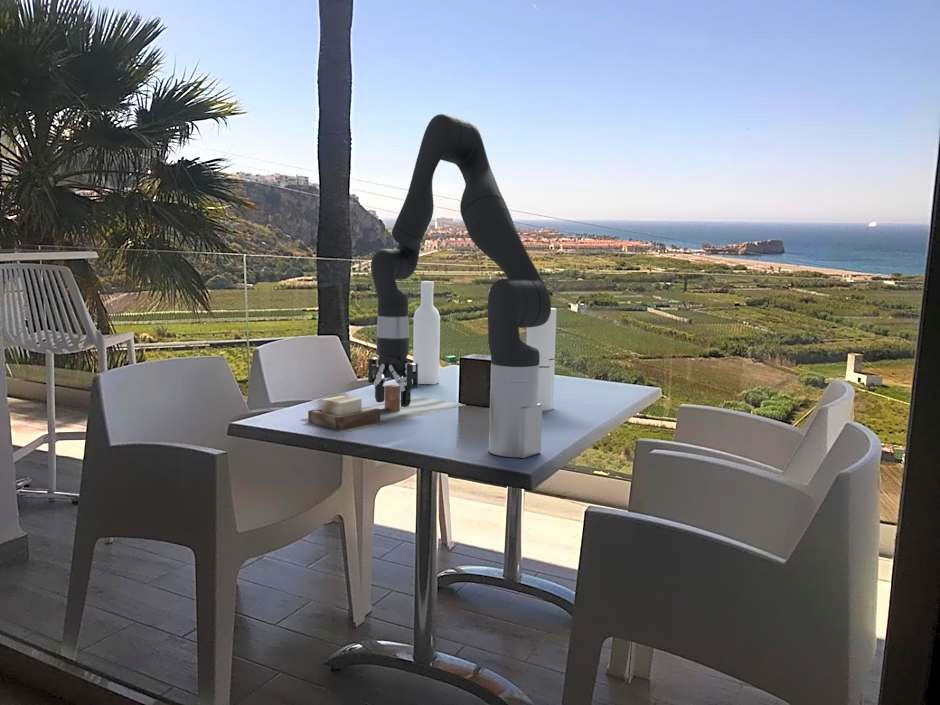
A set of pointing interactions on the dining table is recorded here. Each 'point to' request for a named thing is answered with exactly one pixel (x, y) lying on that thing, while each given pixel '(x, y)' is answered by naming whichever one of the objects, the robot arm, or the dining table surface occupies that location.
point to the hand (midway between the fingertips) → (392, 404)
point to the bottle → (427, 337)
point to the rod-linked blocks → (353, 405)
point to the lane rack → (378, 414)
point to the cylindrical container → (545, 358)
